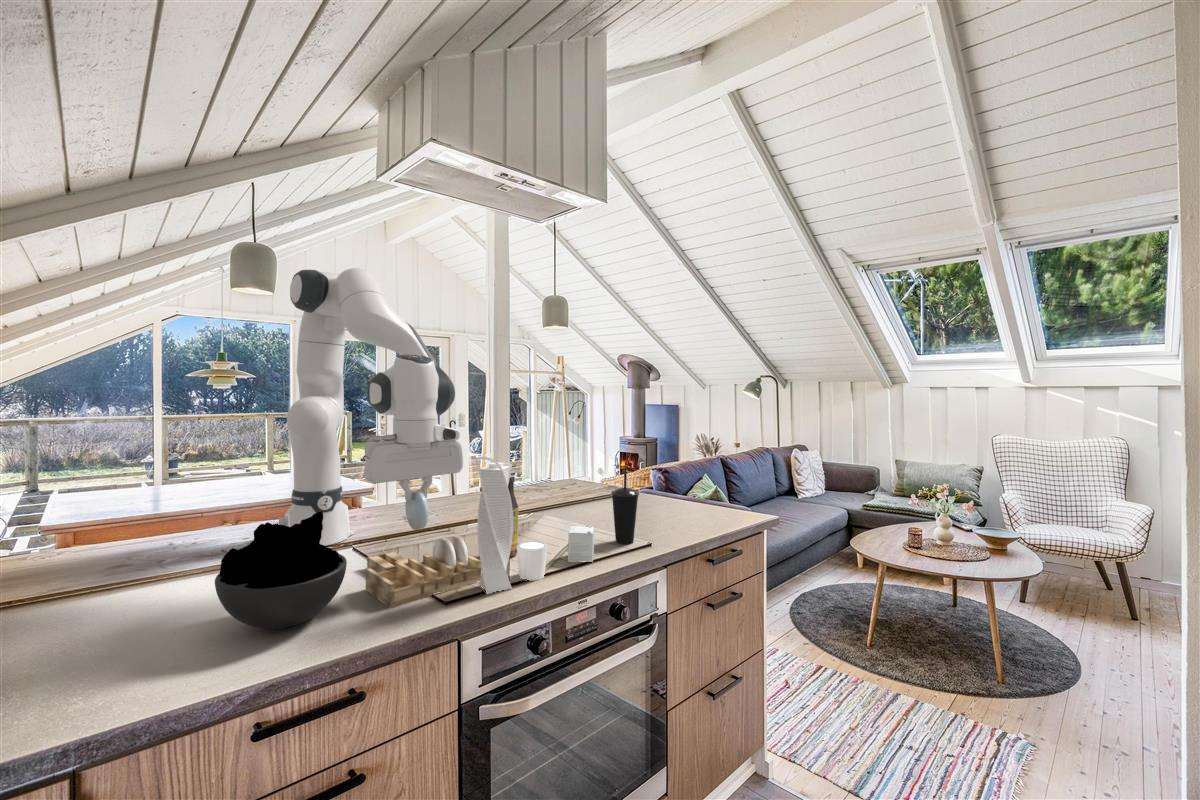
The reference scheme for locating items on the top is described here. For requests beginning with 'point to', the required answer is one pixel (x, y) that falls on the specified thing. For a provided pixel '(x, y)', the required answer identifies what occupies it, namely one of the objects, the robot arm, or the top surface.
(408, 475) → the robot arm
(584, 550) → the skincare box
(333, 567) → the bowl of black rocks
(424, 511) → the blue plate
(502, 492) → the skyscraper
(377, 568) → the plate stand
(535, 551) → the white cylinder
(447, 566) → the dish rack
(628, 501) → the drinking cup
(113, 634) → the top surface
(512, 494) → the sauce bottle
